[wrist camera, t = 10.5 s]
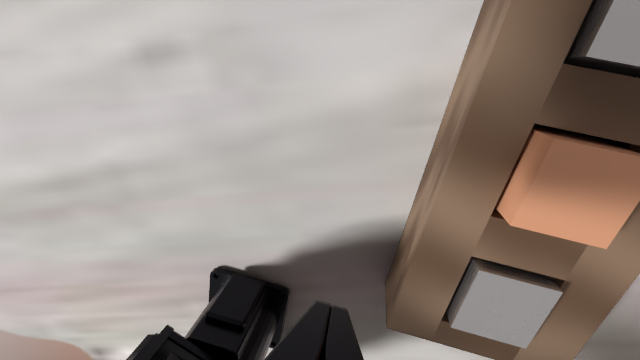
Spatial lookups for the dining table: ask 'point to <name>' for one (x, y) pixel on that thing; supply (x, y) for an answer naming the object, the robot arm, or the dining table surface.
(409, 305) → the console
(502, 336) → the grey cube
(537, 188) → the orange cube
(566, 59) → the grey block
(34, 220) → the dining table surface
